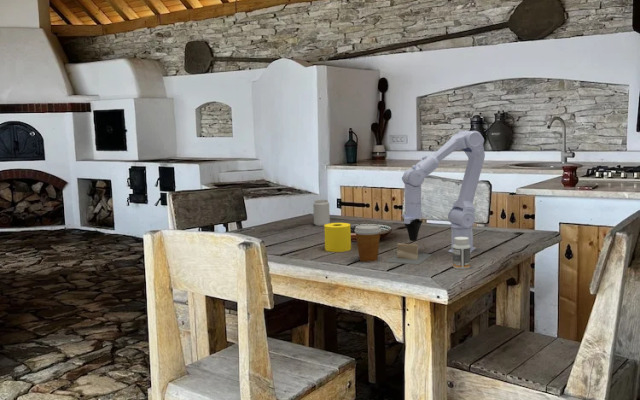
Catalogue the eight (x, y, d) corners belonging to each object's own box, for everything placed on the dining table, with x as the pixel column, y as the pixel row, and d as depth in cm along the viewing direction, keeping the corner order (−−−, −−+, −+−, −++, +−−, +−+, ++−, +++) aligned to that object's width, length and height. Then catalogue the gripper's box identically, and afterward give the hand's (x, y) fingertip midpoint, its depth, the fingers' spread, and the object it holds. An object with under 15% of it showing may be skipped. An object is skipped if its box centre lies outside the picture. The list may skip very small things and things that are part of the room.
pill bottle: (467, 265, 205) (467, 235, 204) (472, 269, 199) (472, 239, 198) (450, 265, 205) (450, 236, 204) (455, 270, 199) (455, 240, 198)
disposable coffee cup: (359, 256, 223) (358, 223, 222) (385, 257, 220) (384, 224, 218) (351, 262, 214) (350, 228, 213) (377, 263, 211) (377, 229, 209)
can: (312, 224, 293) (311, 199, 292) (327, 223, 295) (326, 198, 294) (316, 227, 286) (315, 201, 284) (331, 225, 288) (331, 200, 287)
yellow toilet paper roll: (321, 248, 239) (320, 224, 238) (344, 245, 243) (344, 221, 242) (330, 253, 230) (330, 228, 229) (355, 250, 234) (354, 225, 232)
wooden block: (398, 257, 218) (398, 243, 217) (417, 258, 215) (417, 244, 214) (397, 258, 216) (397, 244, 216) (416, 259, 213) (416, 245, 213)
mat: (400, 253, 226) (400, 251, 226) (432, 255, 221) (432, 254, 221) (385, 262, 212) (385, 261, 212) (418, 265, 207) (418, 264, 207)
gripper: (408, 199, 226) (409, 236, 228) (395, 205, 214) (395, 243, 215) (427, 200, 223) (427, 237, 225) (414, 206, 211) (415, 245, 212)
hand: (413, 240), depth 220 cm, fingers closed
